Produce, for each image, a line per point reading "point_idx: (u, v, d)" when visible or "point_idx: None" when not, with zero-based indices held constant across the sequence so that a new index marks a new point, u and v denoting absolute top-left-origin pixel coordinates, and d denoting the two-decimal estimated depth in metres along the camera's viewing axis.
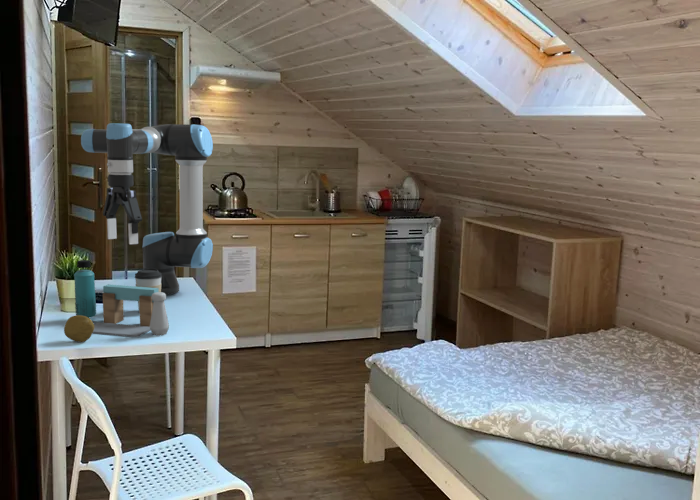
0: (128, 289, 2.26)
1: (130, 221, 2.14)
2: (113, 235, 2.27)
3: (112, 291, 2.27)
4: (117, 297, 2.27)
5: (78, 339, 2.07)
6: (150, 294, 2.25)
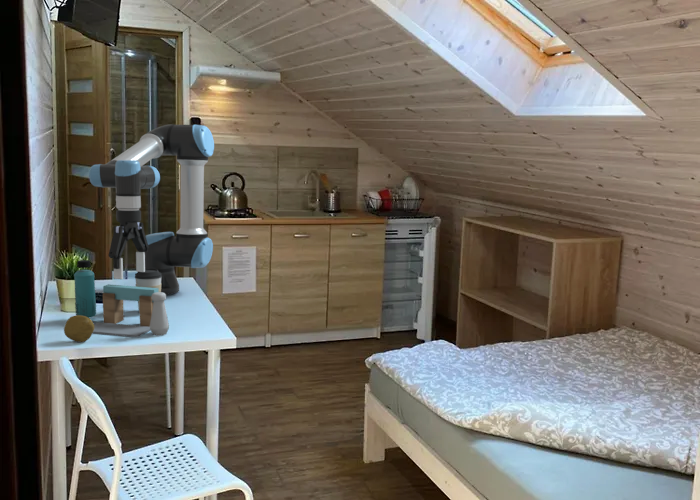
0: (128, 289, 2.26)
1: None
2: (140, 268, 2.33)
3: (112, 291, 2.27)
4: (117, 297, 2.27)
5: (78, 339, 2.07)
6: (150, 294, 2.25)
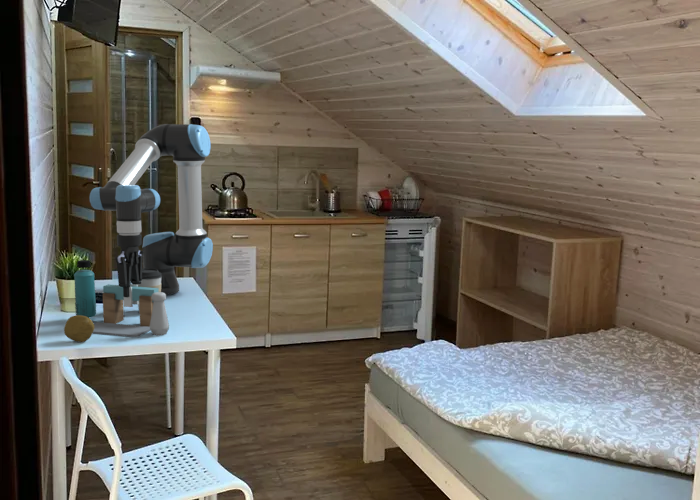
0: None
1: (120, 285, 2.25)
2: (134, 301, 2.30)
3: (112, 291, 2.28)
4: (117, 297, 2.27)
5: (78, 339, 2.07)
6: (150, 294, 2.25)
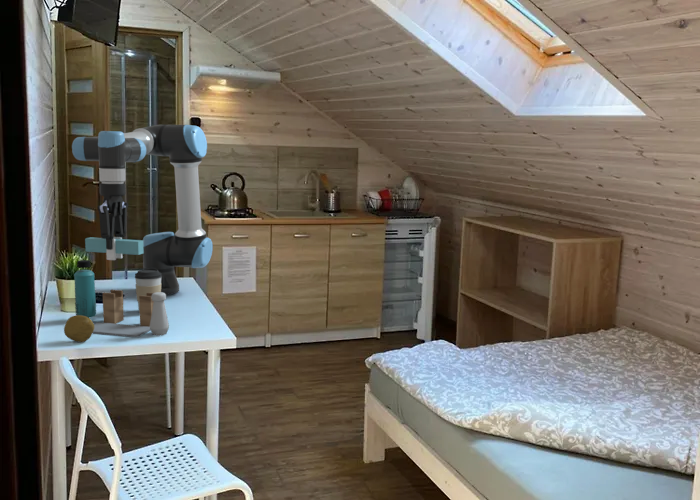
0: None
1: (103, 237, 2.13)
2: (118, 254, 2.18)
3: (94, 244, 2.16)
4: (100, 250, 2.16)
5: (78, 339, 2.07)
6: (134, 246, 2.13)
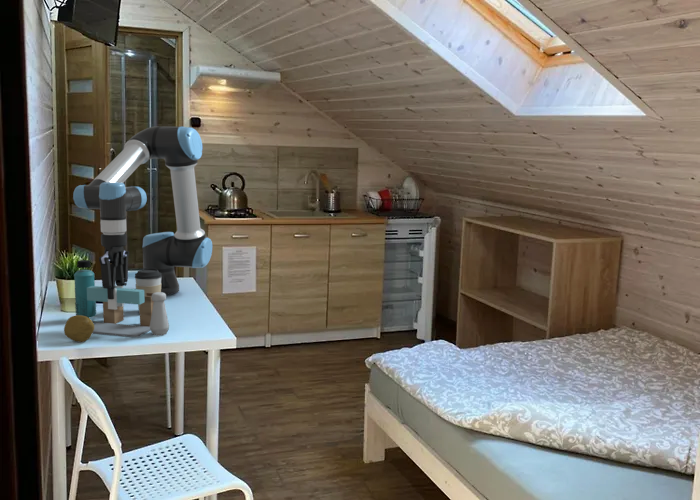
0: None
1: None
2: (119, 303, 2.21)
3: (96, 293, 2.19)
4: (101, 299, 2.19)
5: (78, 339, 2.07)
6: (135, 296, 2.16)
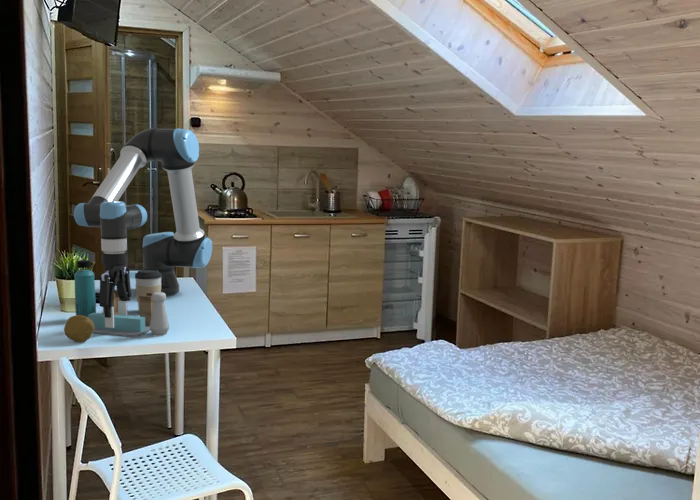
0: (114, 318, 2.19)
1: (101, 305, 2.15)
2: None
3: (97, 320, 2.20)
4: (102, 326, 2.20)
5: (78, 339, 2.07)
6: (136, 324, 2.17)
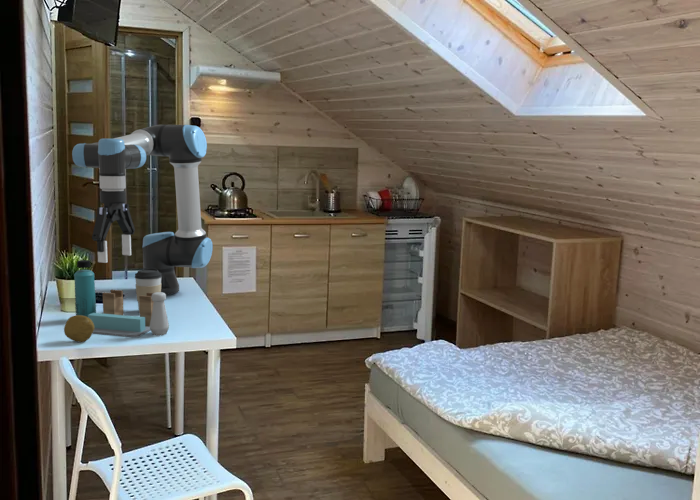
0: (114, 318, 2.19)
1: None
2: (126, 252, 2.24)
3: (97, 320, 2.20)
4: (102, 326, 2.20)
5: (78, 339, 2.07)
6: (136, 324, 2.17)
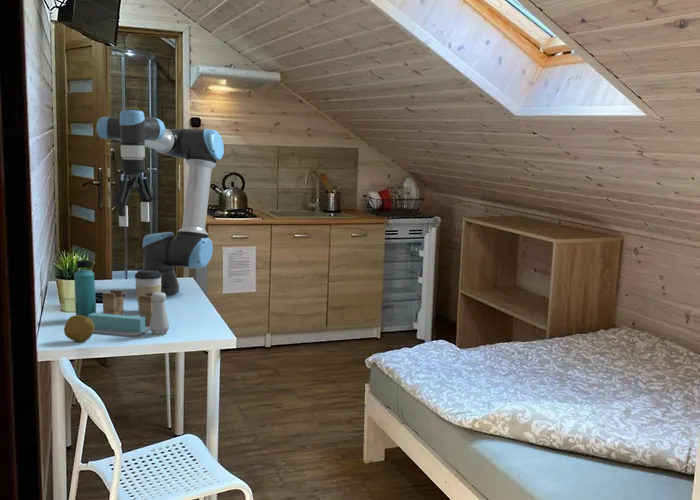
0: (114, 318, 2.19)
1: (115, 203, 2.23)
2: (145, 218, 2.37)
3: (97, 320, 2.20)
4: (102, 326, 2.20)
5: (78, 339, 2.07)
6: (136, 324, 2.17)
